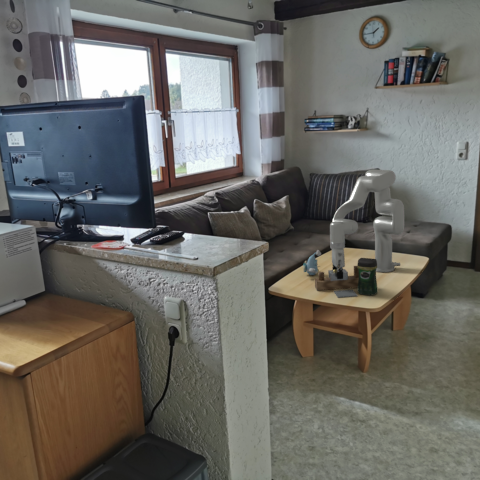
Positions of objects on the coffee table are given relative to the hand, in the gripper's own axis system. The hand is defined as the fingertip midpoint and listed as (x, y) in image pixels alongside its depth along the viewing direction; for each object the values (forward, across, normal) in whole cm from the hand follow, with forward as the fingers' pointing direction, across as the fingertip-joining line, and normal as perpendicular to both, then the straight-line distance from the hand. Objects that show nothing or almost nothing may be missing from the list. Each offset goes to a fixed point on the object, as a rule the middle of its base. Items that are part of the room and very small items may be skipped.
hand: (337, 276), depth 260 cm
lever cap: (+1, 0, 0) cm, 1 cm away
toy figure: (+6, +25, +9) cm, 27 cm away
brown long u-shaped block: (+6, 0, -1) cm, 7 cm away
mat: (+6, -11, -1) cm, 13 cm away
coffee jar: (+7, -12, -12) cm, 18 cm away
